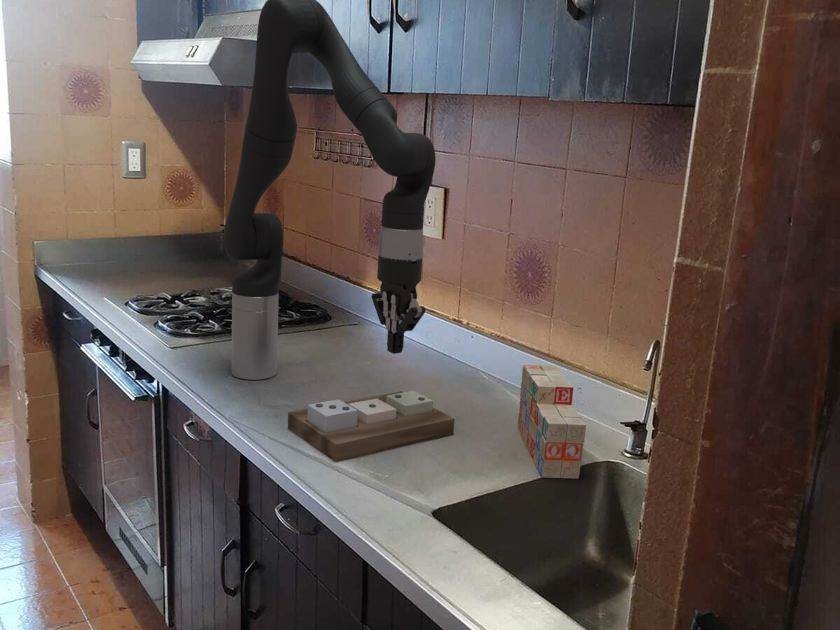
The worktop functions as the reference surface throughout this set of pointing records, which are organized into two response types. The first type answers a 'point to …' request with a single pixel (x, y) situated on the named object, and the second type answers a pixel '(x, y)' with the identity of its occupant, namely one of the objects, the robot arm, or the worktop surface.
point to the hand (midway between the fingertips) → (394, 352)
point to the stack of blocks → (550, 422)
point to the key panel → (372, 432)
